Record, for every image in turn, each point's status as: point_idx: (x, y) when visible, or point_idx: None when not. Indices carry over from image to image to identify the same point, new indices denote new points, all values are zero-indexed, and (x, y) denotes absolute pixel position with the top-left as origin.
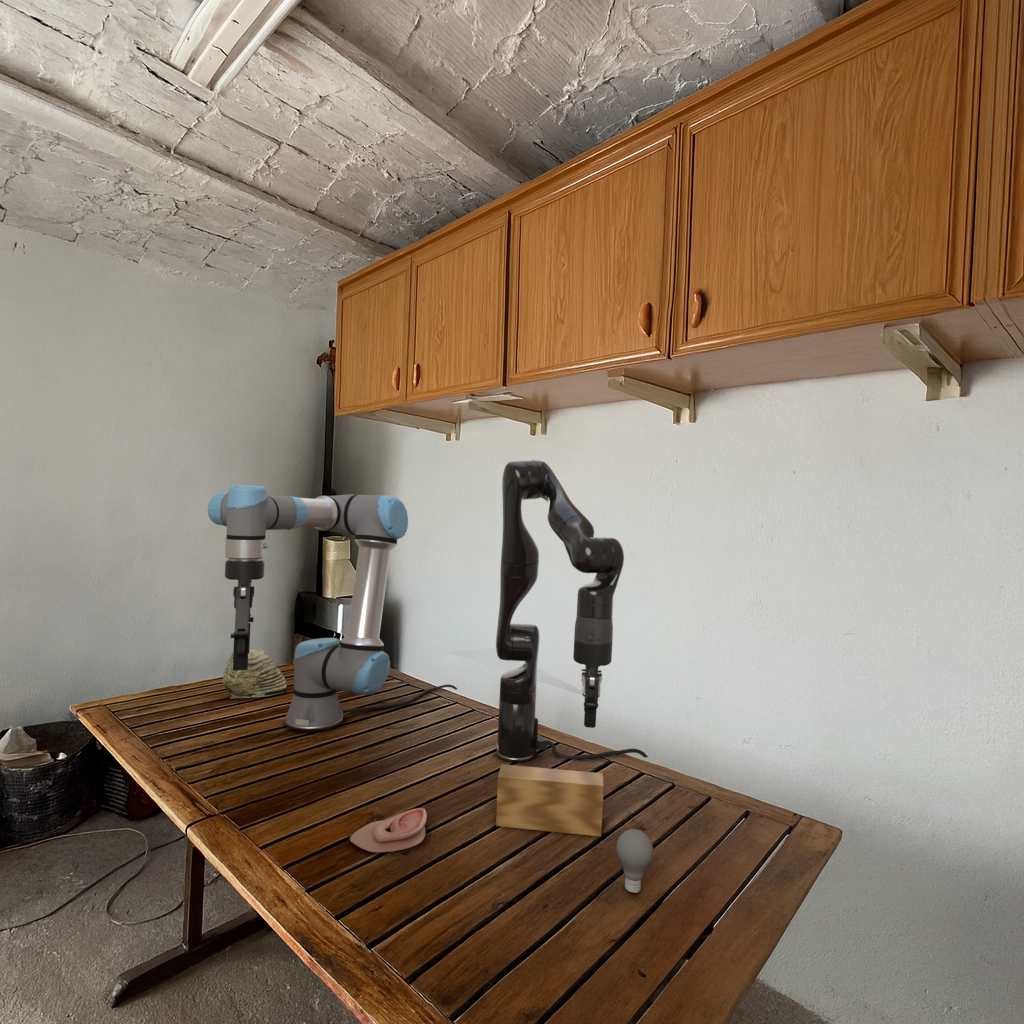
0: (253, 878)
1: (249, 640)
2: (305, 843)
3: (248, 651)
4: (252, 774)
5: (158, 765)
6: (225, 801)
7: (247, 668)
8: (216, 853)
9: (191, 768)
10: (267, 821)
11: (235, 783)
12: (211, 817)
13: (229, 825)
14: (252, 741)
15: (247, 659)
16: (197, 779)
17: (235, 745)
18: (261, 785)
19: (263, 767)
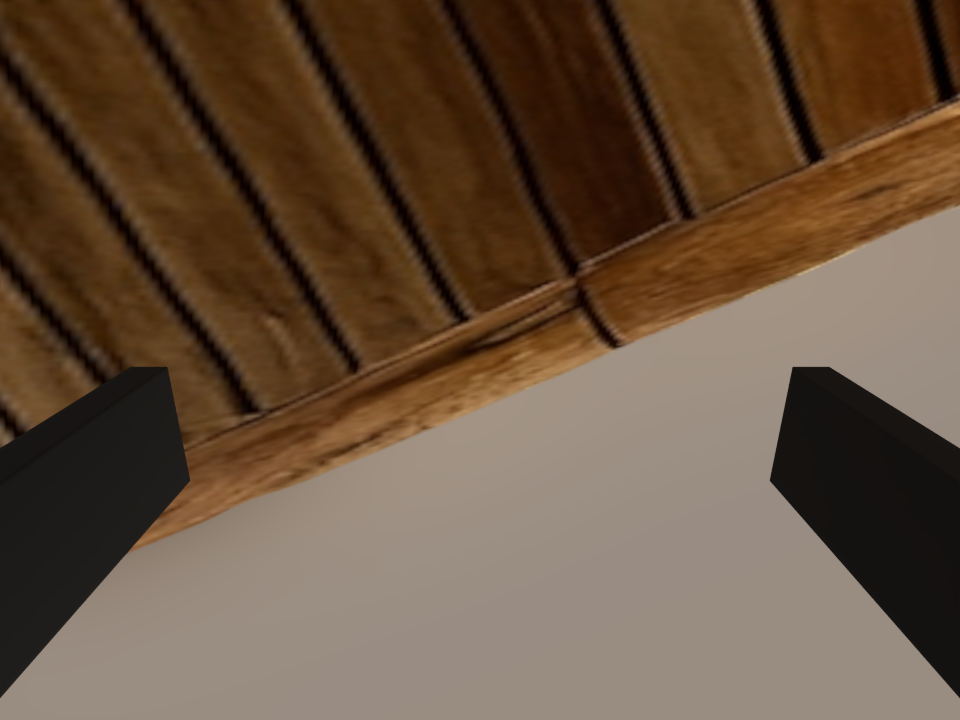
0: (953, 178)
1: (76, 432)
2: (853, 27)
3: (157, 382)
4: (326, 191)
5: (215, 459)
6: (504, 265)
7: (834, 373)
8: (789, 271)
9: (249, 374)
10: (673, 141)
11: (385, 243)
12: (591, 296)
13: (655, 247)
14: (23, 197)
15: (897, 415)
16: (333, 351)
17: (63, 256)
18: (419, 161)
19: (273, 154)
